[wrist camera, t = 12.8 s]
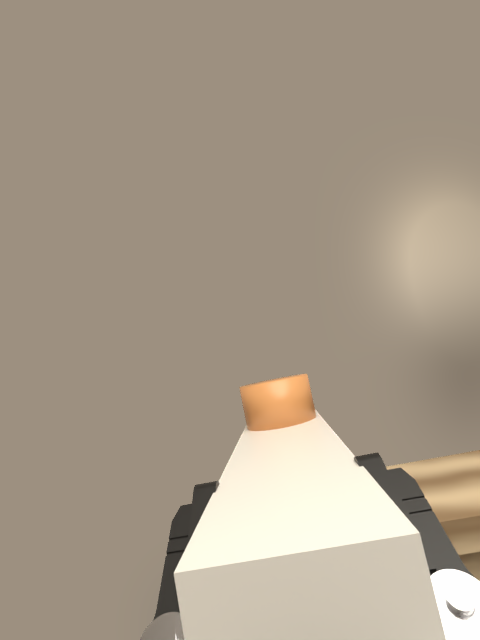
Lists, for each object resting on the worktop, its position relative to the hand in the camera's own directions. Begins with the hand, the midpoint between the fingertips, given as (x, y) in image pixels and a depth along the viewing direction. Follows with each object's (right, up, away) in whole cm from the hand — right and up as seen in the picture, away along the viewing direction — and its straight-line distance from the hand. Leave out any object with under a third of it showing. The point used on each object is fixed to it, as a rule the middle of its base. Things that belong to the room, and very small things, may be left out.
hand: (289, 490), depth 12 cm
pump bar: (+1, -4, +4) cm, 6 cm away
